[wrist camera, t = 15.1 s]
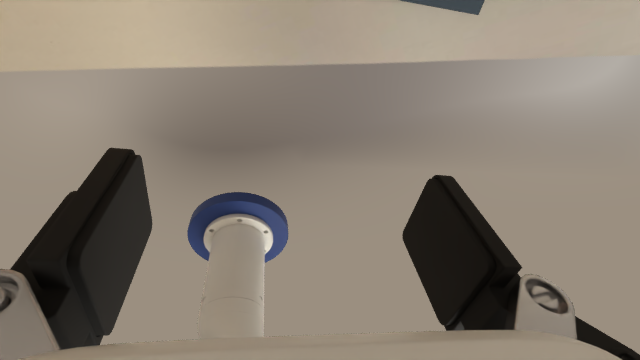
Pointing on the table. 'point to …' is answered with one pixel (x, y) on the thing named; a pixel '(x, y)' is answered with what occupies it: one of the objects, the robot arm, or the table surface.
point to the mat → (453, 5)
